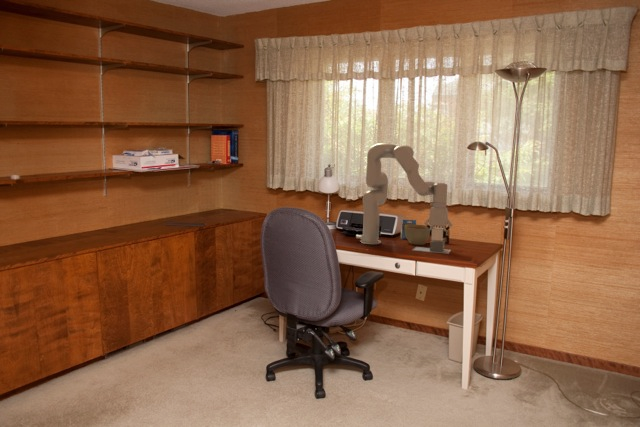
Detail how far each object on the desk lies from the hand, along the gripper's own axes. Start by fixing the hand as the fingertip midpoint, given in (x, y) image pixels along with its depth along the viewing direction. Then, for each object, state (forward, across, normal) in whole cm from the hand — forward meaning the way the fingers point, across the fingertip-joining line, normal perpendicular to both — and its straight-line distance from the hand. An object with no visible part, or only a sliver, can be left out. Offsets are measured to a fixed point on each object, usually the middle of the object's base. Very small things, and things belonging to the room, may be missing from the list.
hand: (437, 237), depth 314 cm
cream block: (+1, 0, 0) cm, 1 cm away
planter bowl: (+9, -14, +18) cm, 24 cm away
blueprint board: (+9, -3, 0) cm, 9 cm away
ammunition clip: (+9, -2, +29) cm, 30 cm away
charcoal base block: (+7, 0, 0) cm, 7 cm away
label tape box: (+9, -23, +36) cm, 44 cm away
